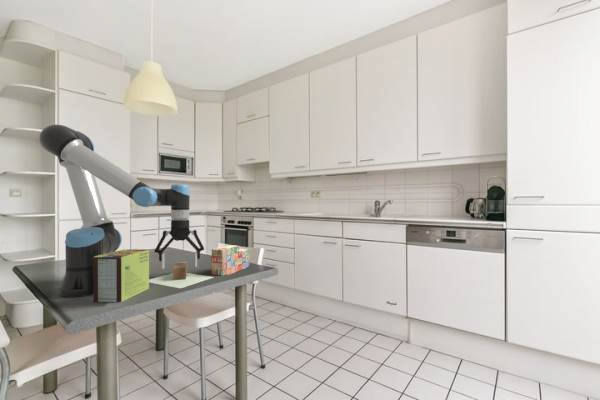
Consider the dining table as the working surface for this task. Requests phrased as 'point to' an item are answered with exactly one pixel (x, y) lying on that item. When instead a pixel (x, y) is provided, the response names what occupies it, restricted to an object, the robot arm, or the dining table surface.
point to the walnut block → (180, 271)
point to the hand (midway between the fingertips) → (179, 267)
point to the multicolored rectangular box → (229, 259)
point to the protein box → (120, 275)
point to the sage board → (189, 280)
